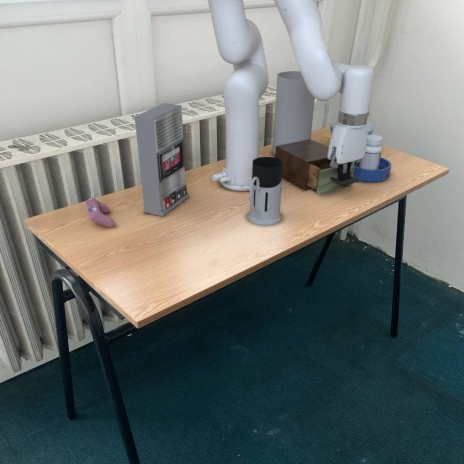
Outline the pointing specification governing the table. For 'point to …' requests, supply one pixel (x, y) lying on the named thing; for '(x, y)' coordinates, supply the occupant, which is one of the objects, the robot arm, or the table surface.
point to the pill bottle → (372, 153)
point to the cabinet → (300, 160)
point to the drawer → (326, 177)
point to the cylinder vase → (292, 109)
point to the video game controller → (99, 212)
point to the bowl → (374, 172)
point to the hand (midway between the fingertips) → (342, 184)
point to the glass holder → (265, 191)
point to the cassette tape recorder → (161, 158)
